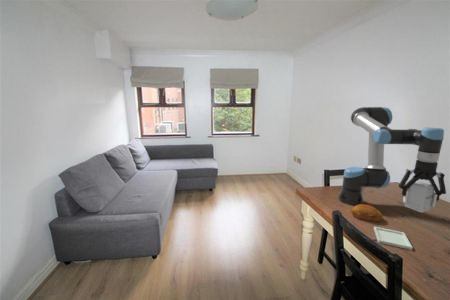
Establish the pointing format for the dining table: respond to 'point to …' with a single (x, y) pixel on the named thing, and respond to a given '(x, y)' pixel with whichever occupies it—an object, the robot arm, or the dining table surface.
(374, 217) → the croissant
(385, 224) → the dining table surface
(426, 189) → the supplement box
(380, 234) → the pale green square tray
